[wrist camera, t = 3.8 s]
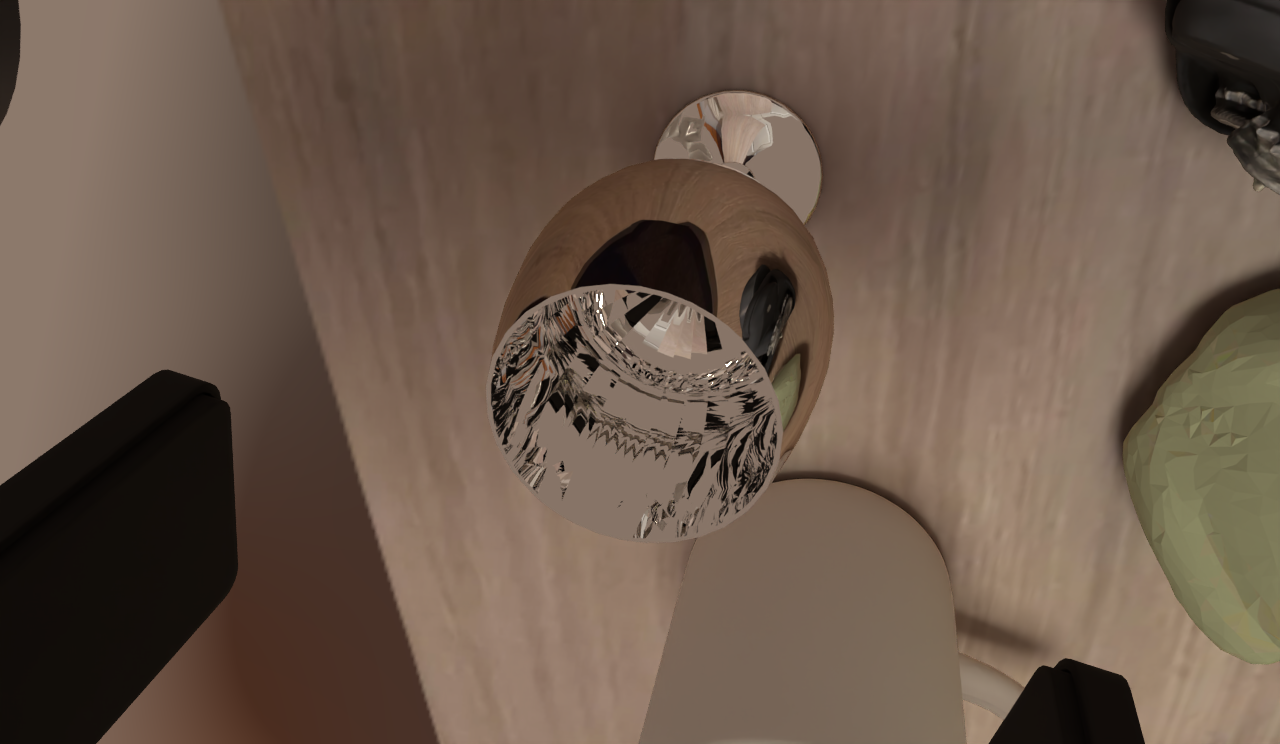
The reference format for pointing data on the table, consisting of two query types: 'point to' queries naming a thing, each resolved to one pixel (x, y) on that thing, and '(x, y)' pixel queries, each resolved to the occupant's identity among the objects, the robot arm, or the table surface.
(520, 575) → the table surface
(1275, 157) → the can opener
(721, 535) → the cup
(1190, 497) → the figurine
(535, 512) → the table surface
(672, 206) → the wineglass
